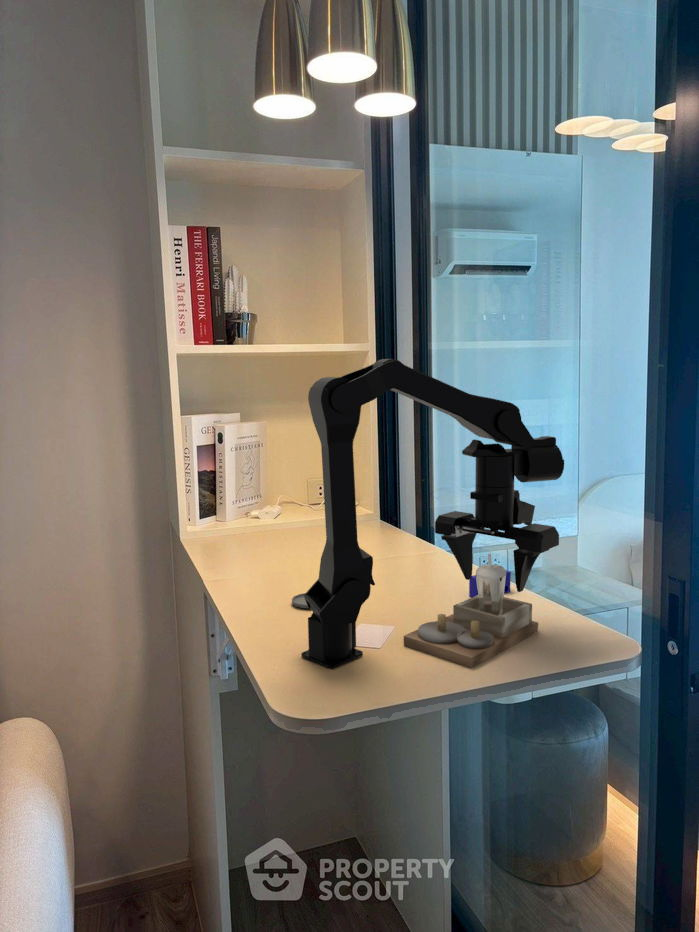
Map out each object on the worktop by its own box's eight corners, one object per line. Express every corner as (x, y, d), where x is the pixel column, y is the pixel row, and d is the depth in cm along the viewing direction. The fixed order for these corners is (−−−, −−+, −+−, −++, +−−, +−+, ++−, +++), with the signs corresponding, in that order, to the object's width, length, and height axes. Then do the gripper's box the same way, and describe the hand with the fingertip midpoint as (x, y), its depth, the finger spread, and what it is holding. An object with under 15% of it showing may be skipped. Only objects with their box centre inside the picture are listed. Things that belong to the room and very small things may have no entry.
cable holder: (496, 588, 132) (497, 567, 132) (510, 593, 129) (510, 571, 129) (463, 595, 128) (463, 574, 128) (476, 601, 125) (476, 579, 125)
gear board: (471, 668, 97) (471, 636, 96) (403, 645, 105) (403, 616, 105) (537, 631, 110) (538, 603, 109) (473, 613, 118) (473, 587, 117)
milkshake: (504, 614, 112) (504, 553, 110) (507, 628, 107) (507, 564, 105) (475, 614, 113) (474, 553, 111) (476, 627, 107) (476, 564, 105)
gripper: (578, 484, 106) (575, 585, 108) (473, 472, 119) (472, 563, 121) (540, 494, 98) (538, 603, 100) (432, 481, 111) (432, 577, 113)
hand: (493, 585), depth 109 cm, fingers open, 9 cm apart
